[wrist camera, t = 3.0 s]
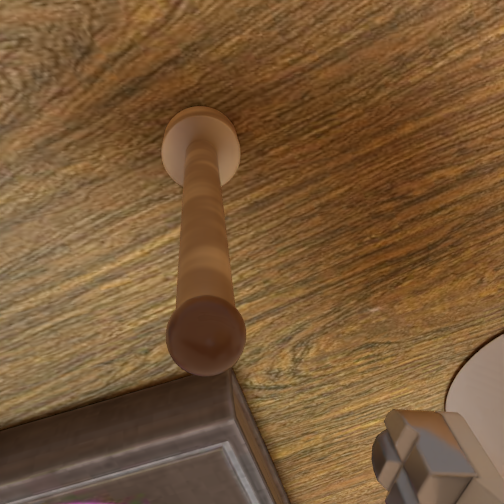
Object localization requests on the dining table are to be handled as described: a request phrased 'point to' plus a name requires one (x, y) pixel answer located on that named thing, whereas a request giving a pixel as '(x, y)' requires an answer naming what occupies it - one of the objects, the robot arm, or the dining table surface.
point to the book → (144, 450)
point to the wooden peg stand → (203, 243)
